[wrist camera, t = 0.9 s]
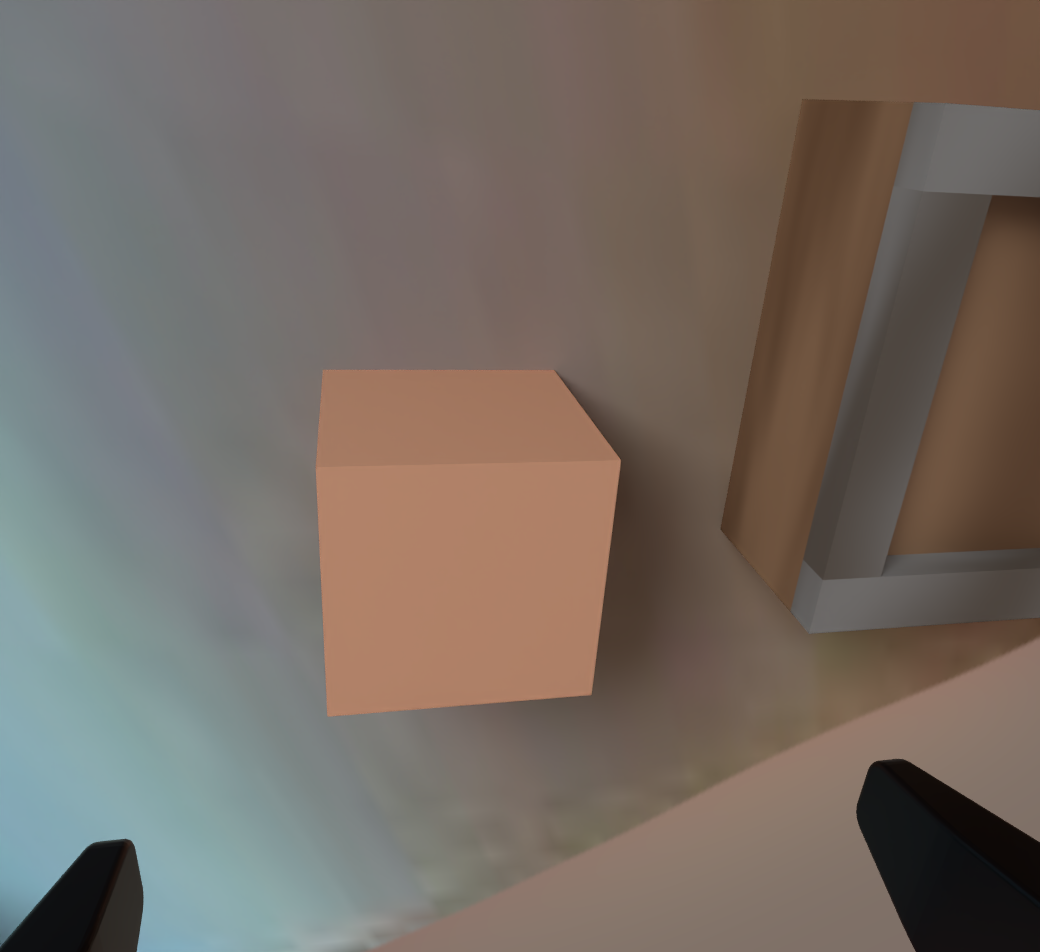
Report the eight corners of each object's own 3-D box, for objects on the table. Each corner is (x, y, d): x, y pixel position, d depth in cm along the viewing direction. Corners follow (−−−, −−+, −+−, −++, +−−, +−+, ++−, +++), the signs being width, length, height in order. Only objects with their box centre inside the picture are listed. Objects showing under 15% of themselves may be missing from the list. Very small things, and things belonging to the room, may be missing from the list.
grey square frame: (1187, 128, 19) (1432, 140, 15) (1043, 510, 23) (1201, 606, 19) (794, 99, 17) (946, 103, 13) (715, 523, 21) (808, 633, 17)
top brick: (553, 369, 18) (620, 460, 14) (537, 561, 20) (591, 694, 16) (323, 368, 17) (315, 467, 13) (331, 571, 19) (327, 716, 15)
